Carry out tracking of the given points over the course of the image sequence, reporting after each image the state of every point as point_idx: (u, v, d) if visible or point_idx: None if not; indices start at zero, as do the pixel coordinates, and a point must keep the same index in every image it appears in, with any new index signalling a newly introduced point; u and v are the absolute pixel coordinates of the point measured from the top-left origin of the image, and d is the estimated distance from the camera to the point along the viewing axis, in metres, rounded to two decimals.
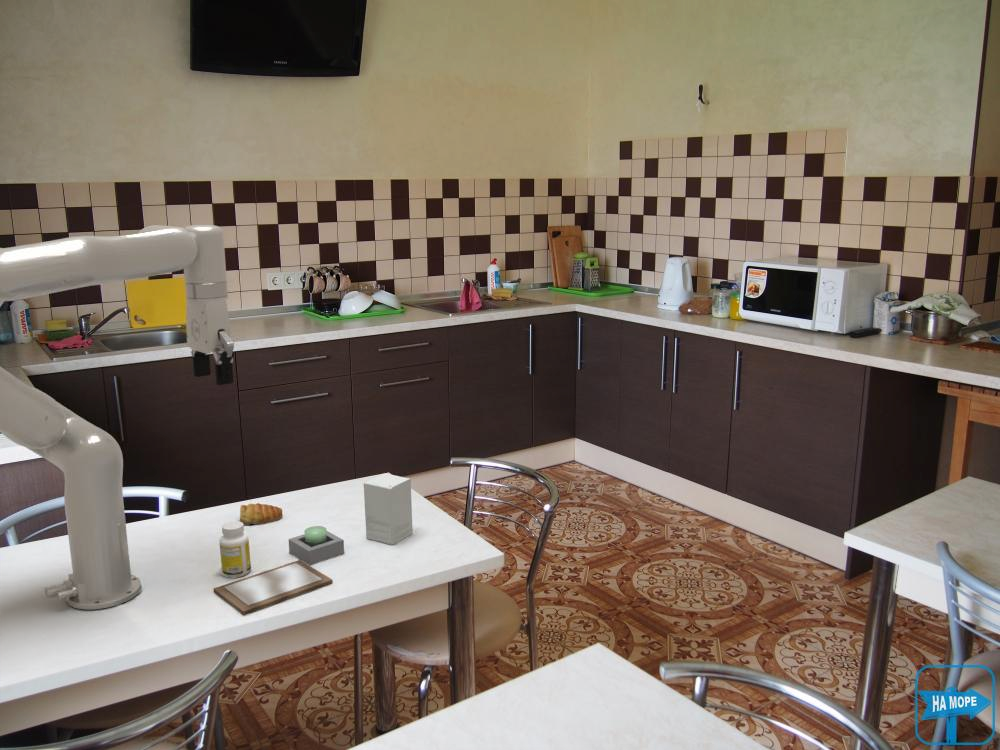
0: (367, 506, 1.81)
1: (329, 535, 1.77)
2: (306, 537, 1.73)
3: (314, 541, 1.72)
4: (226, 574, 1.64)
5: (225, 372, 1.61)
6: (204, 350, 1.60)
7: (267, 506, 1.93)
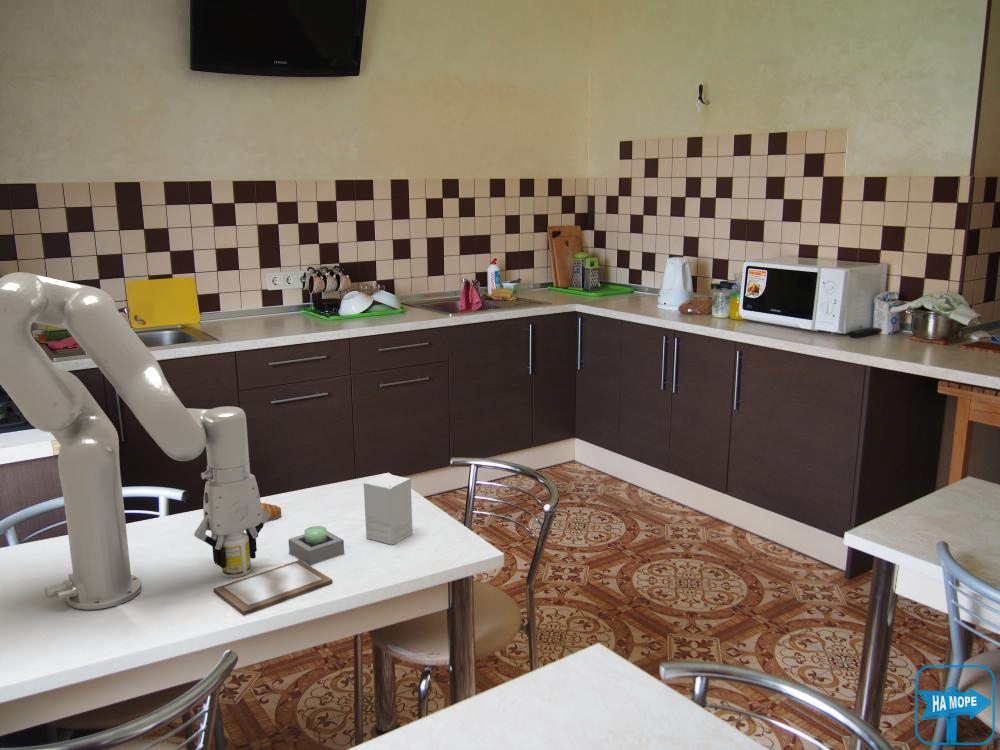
0: (367, 506, 1.81)
1: (329, 535, 1.77)
2: (306, 537, 1.73)
3: (314, 541, 1.72)
4: (226, 574, 1.64)
5: None
6: (256, 523, 1.65)
7: (266, 505, 1.94)
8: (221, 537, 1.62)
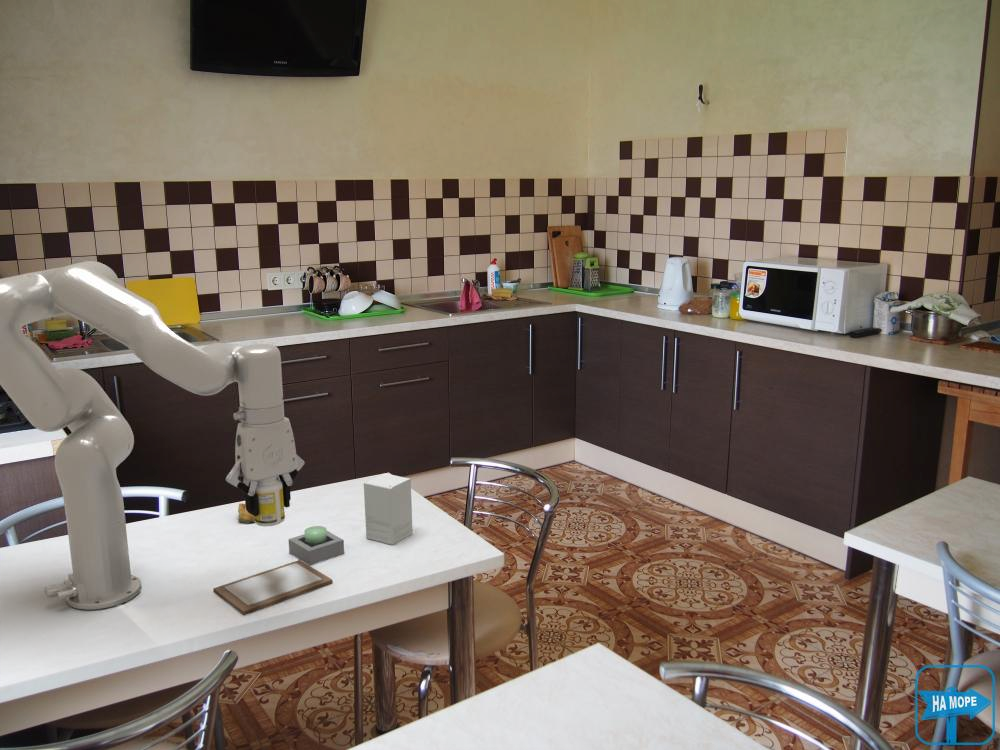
0: (367, 506, 1.81)
1: (329, 535, 1.77)
2: (306, 537, 1.73)
3: (314, 541, 1.72)
4: (259, 523, 1.55)
5: None
6: (290, 469, 1.56)
7: None
8: (254, 483, 1.53)
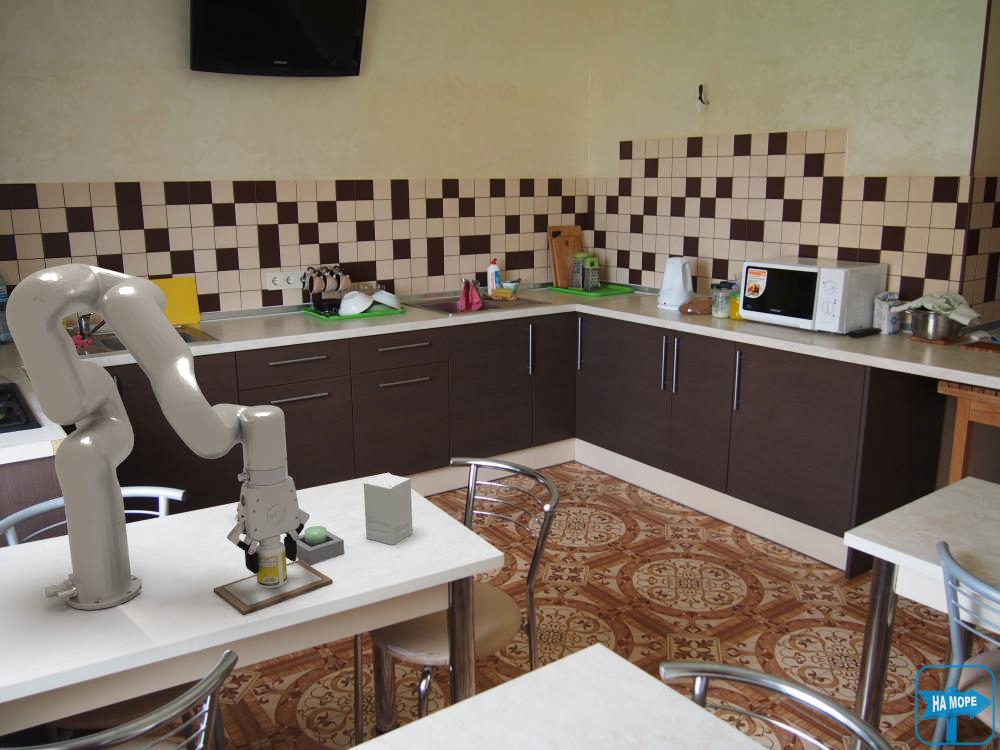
0: (367, 506, 1.81)
1: (329, 535, 1.77)
2: (306, 537, 1.73)
3: (314, 541, 1.72)
4: (262, 585, 1.58)
5: None
6: (294, 527, 1.58)
7: None
8: (255, 541, 1.55)
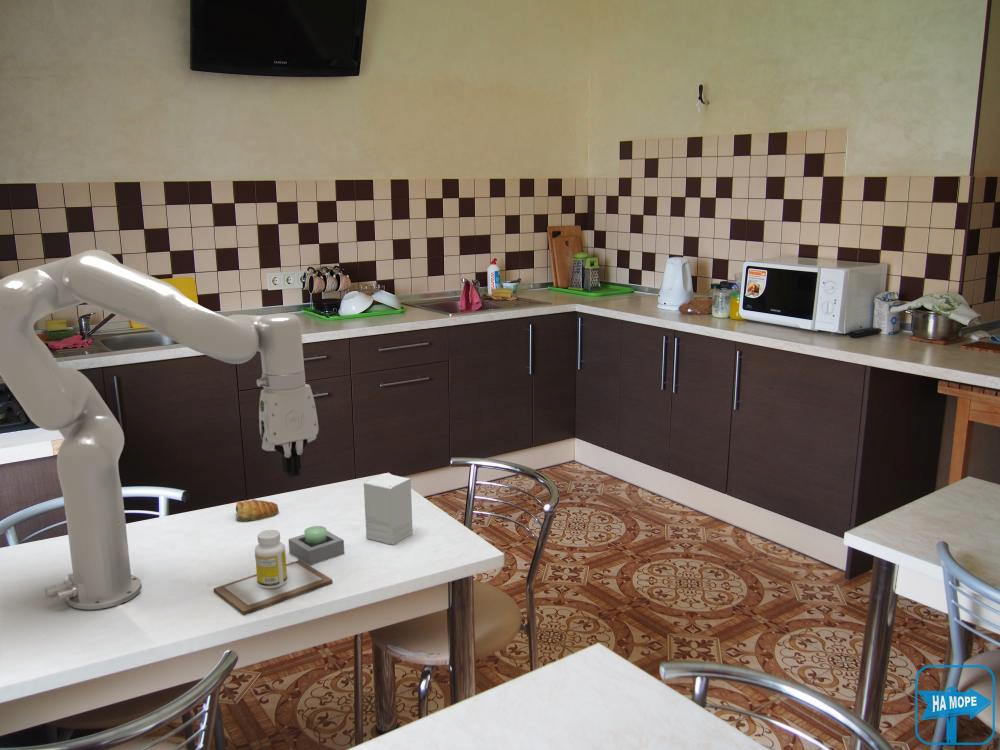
0: (367, 506, 1.81)
1: (329, 535, 1.77)
2: (306, 537, 1.73)
3: (314, 541, 1.72)
4: (262, 585, 1.58)
5: None
6: (312, 433, 1.61)
7: (263, 502, 1.96)
8: (286, 445, 1.60)
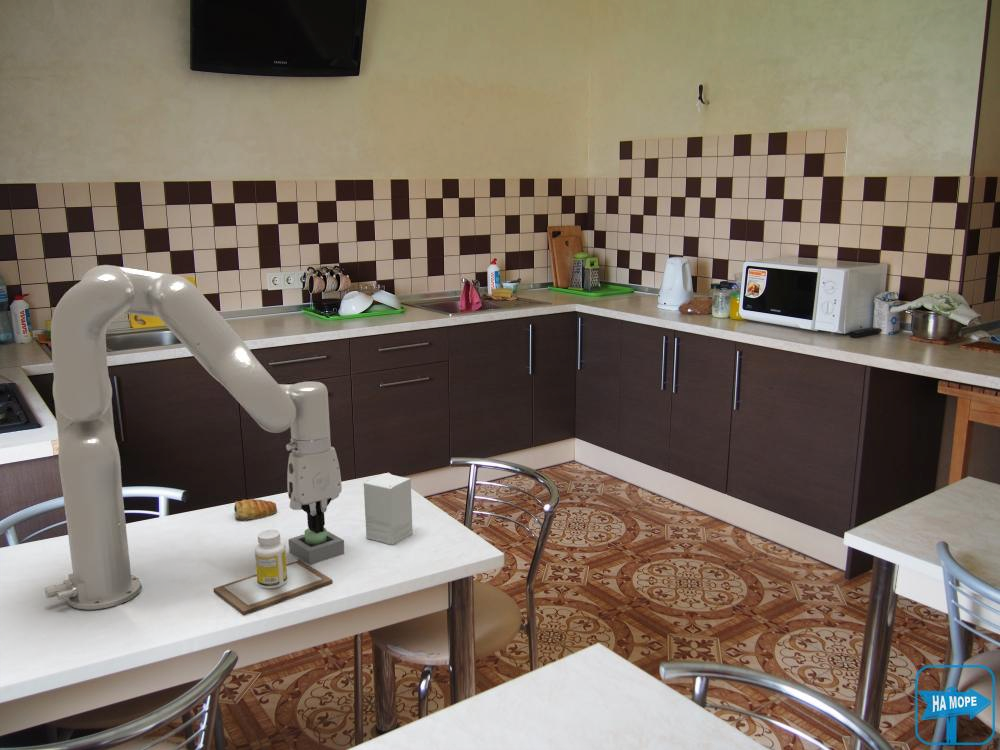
0: (367, 506, 1.81)
1: (329, 535, 1.77)
2: (306, 538, 1.73)
3: (314, 542, 1.72)
4: (262, 585, 1.58)
5: None
6: (336, 493, 1.73)
7: (262, 501, 1.96)
8: (312, 504, 1.71)
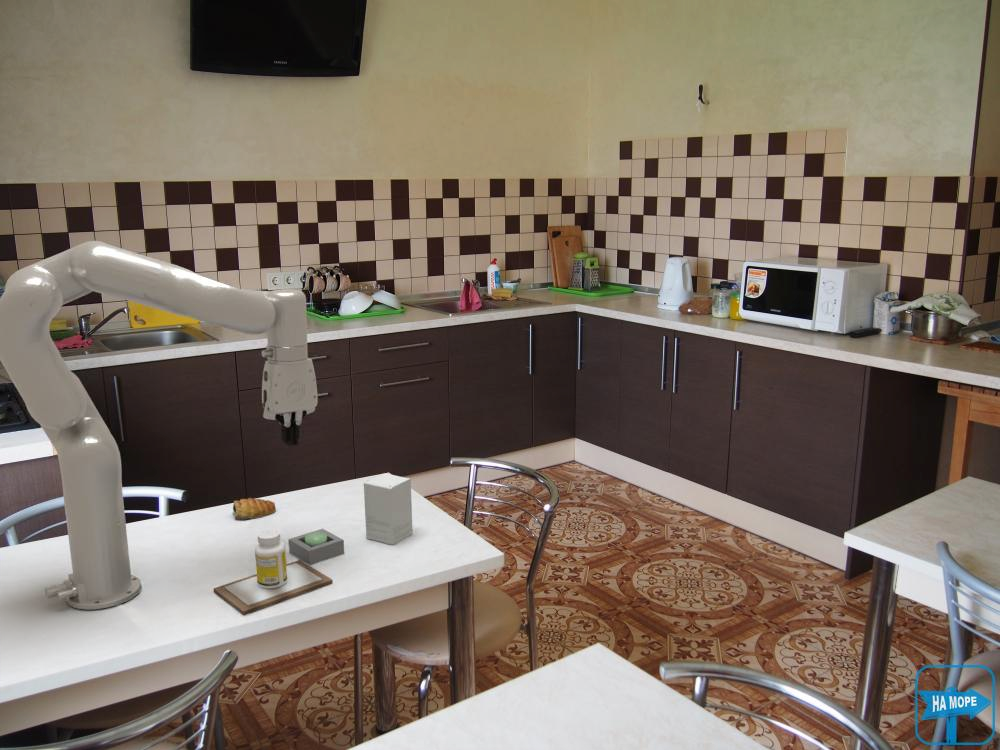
0: (367, 506, 1.81)
1: (329, 535, 1.77)
2: (306, 543, 1.73)
3: None
4: (262, 585, 1.58)
5: None
6: (311, 405, 1.70)
7: (260, 500, 1.97)
8: (286, 415, 1.68)
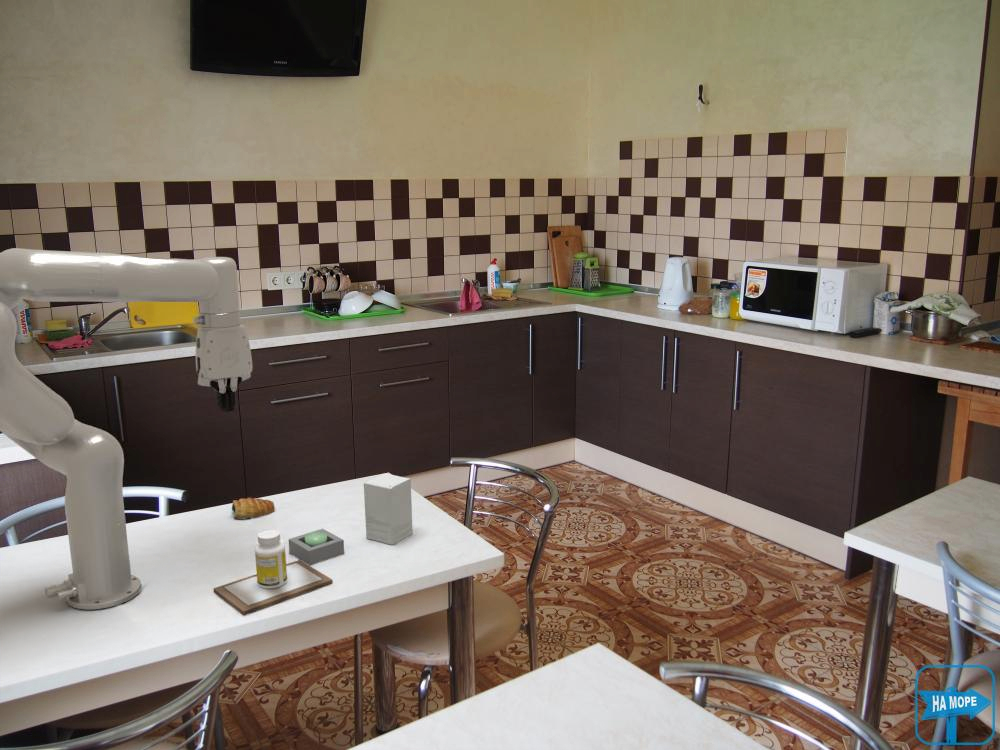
0: (367, 506, 1.81)
1: (329, 535, 1.77)
2: (306, 543, 1.73)
3: None
4: (262, 585, 1.58)
5: None
6: (246, 371, 1.72)
7: (259, 500, 1.97)
8: (221, 381, 1.70)
